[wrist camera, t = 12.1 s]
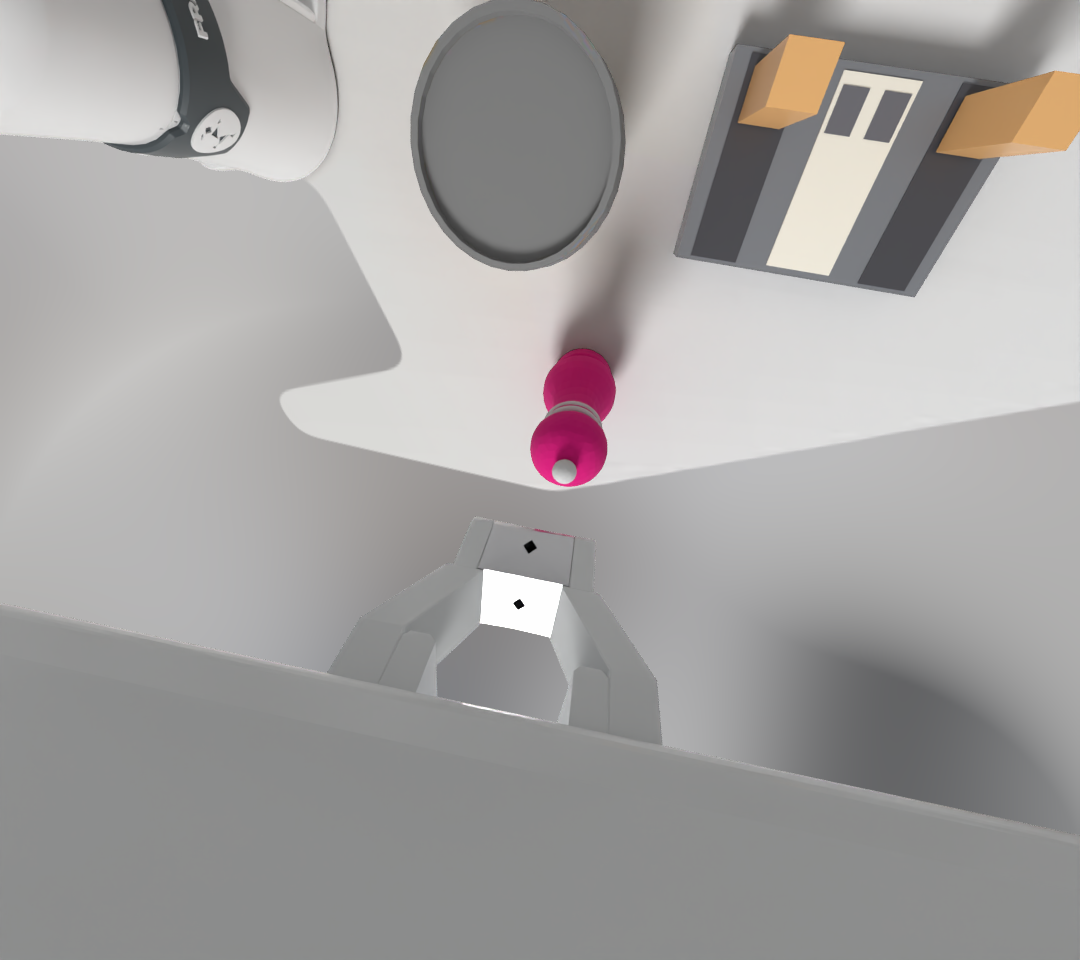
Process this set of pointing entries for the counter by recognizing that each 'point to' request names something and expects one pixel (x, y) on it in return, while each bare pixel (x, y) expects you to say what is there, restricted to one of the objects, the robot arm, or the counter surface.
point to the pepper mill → (574, 419)
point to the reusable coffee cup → (517, 135)
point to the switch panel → (835, 179)
